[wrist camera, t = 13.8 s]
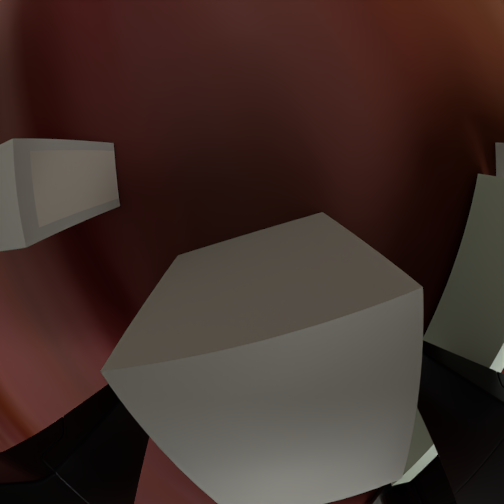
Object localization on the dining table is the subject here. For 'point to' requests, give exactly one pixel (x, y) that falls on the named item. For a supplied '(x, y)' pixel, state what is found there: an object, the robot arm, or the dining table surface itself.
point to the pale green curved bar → (469, 304)
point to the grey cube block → (278, 365)
